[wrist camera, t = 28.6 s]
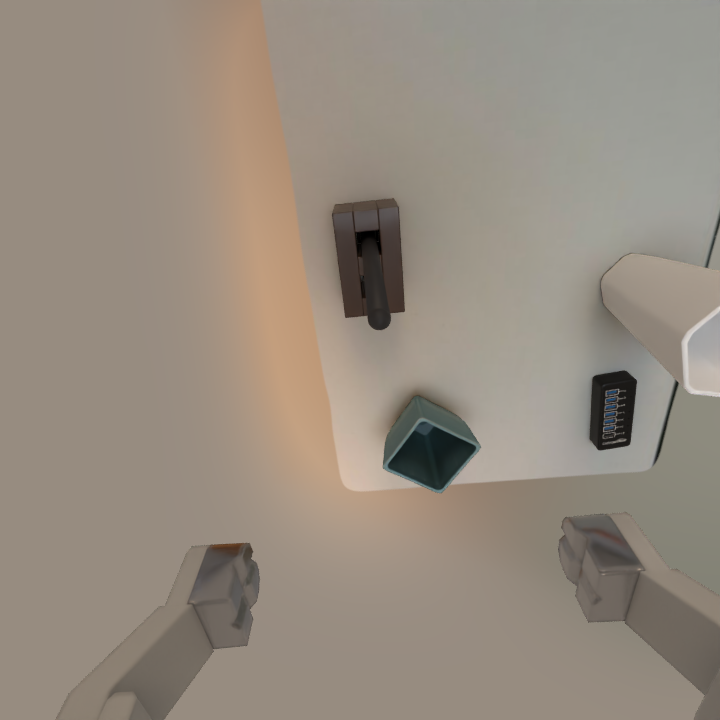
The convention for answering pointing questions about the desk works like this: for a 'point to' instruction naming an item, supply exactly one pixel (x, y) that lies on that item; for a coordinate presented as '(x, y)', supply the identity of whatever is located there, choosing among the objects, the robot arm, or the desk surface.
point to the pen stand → (350, 254)
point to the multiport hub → (612, 410)
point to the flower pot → (429, 445)
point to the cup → (670, 315)
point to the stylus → (374, 283)
